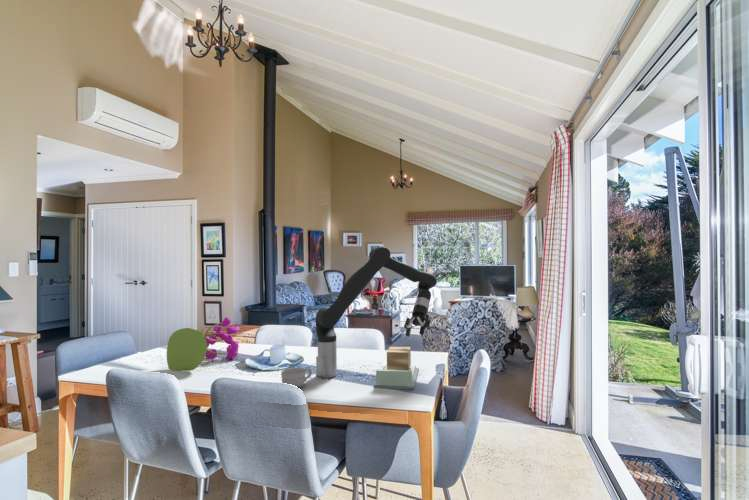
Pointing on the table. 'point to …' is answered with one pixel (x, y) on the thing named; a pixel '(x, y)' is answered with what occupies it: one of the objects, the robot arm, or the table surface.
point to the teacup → (295, 376)
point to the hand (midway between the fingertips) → (414, 335)
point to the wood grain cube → (399, 358)
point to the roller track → (396, 378)
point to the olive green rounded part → (198, 346)
